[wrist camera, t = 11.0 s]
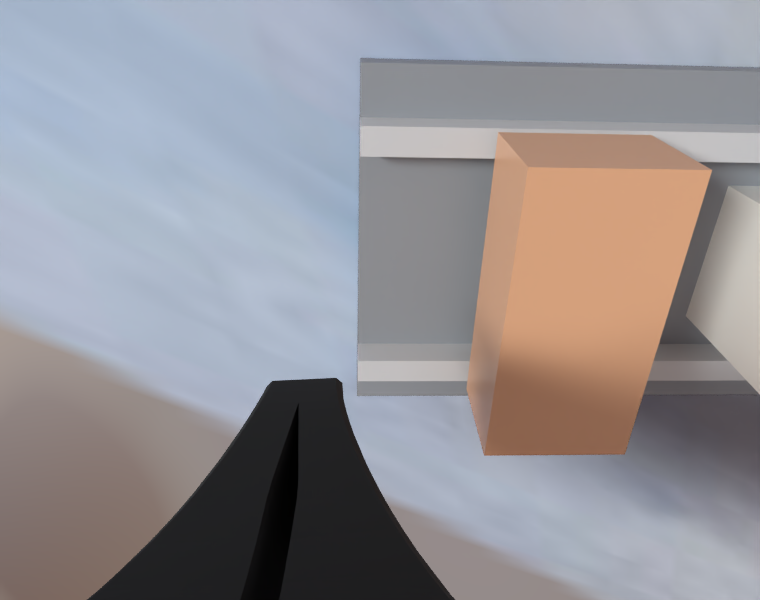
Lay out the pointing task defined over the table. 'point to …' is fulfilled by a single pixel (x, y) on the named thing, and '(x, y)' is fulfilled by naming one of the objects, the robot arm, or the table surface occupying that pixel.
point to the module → (733, 284)
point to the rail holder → (473, 188)
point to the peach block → (576, 287)
